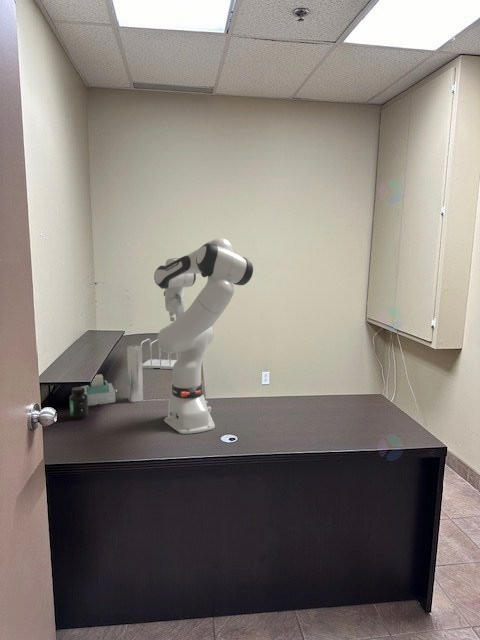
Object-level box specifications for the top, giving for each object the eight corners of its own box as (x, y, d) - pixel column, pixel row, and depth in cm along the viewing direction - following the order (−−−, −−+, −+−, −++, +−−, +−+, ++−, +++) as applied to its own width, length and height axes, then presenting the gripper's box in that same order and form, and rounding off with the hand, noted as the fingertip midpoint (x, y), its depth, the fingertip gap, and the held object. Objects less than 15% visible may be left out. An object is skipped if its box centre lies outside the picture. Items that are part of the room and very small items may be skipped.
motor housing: (120, 401, 186) (119, 385, 185) (82, 406, 180) (81, 389, 179) (115, 392, 199) (115, 377, 198) (80, 397, 193) (79, 381, 192)
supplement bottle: (70, 421, 164) (69, 392, 162) (69, 415, 170) (68, 387, 168) (89, 418, 166) (87, 389, 165) (87, 413, 173) (86, 385, 171)
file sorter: (188, 363, 259) (188, 338, 257) (181, 370, 242) (180, 344, 239) (149, 361, 262) (149, 337, 260) (139, 368, 245) (139, 342, 243)
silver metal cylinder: (139, 402, 185) (137, 348, 182) (126, 401, 187) (124, 347, 183) (145, 398, 192) (144, 345, 188) (132, 397, 193) (130, 344, 190)
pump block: (103, 390, 187) (103, 377, 186) (88, 391, 185) (88, 378, 184) (102, 386, 192) (102, 374, 191) (88, 388, 189) (87, 375, 188)
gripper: (187, 294, 186) (187, 325, 188) (175, 291, 205) (175, 319, 207) (173, 295, 184) (174, 326, 186) (162, 292, 202) (163, 320, 204)
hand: (174, 322), depth 196 cm, fingers open, 8 cm apart
